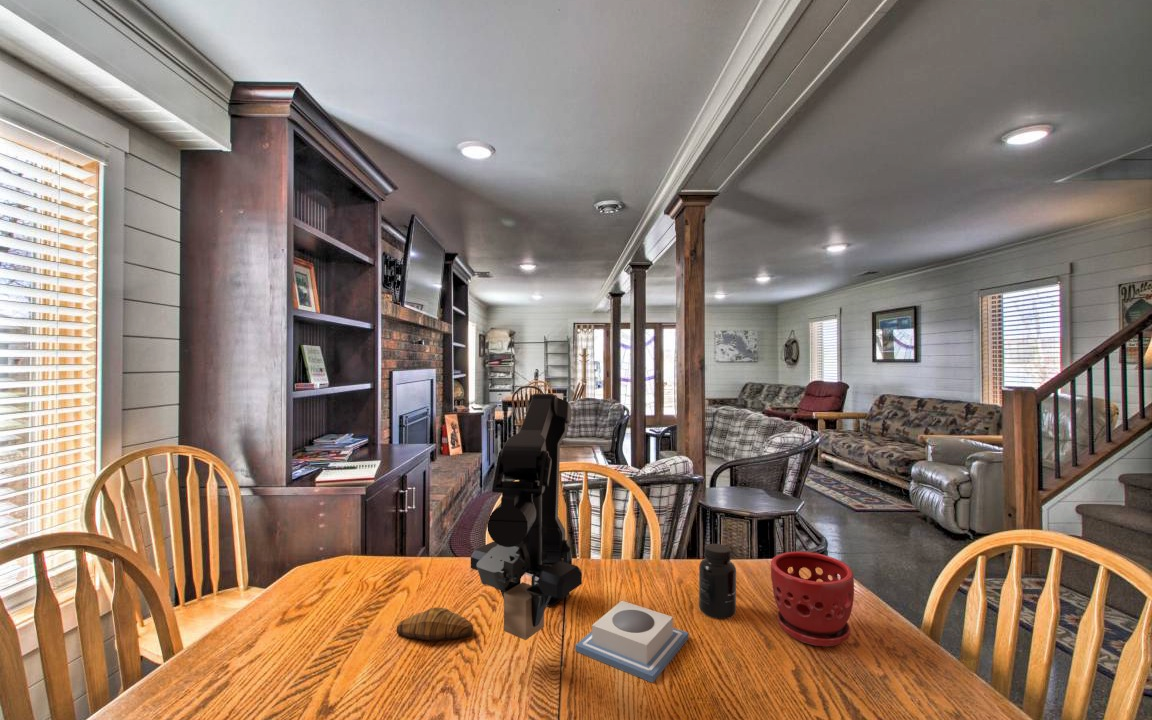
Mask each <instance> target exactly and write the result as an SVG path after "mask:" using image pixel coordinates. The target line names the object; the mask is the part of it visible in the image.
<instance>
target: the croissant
mask: <svg viewBox="0 0 1152 720" xmlns="http://www.w3.org/2000/svg"><path fill="white" fill-rule="evenodd" d="M473 631H474V626H473V623H472V622H470V621H469V620H468V619H467V618H465V617H463V616H462V615H459V614H457V613H454V612H452V611H451V610H449V609H448V608H445V607H439V606H438V607H431V608H430V607H429V609H427V610H425V611H423V612H418V613H416V614H414V615H410V616H408V617H406V618H405V619H403V620H402V621H400V622H398V623H397V626H396V633H397V634H398V635H399V636H402V637H405V638H409V639H414V640H416V639H417V640H421V641H428V642H434V641H444V640H445V641H446V640H458V639H463V638H466V637H470V636H472V634H473Z"/></svg>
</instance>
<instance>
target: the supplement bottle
mask: <svg viewBox="0 0 1152 720" xmlns="http://www.w3.org/2000/svg"><path fill="white" fill-rule="evenodd" d="M731 555H732V550H731V548H730V547H728V546H727V545H725V544H722V543H721V544H719V543H710V544H706V545H705V546H704V554H703V557H704V558H703V559H702V560H701V561H700V563H699V565H698V566H699V567H698V570H699V571H698V608H699V610H700V611H701V612H702V613H703V614H704V615H705V616H707V617H710V618H714V619H719V620H725V619H730V618H732V617H733V616H734V615H735V614H736V612H737V568H736V565H735V564H734V563H733V562H732V561H731V560H732V556H731Z"/></svg>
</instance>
